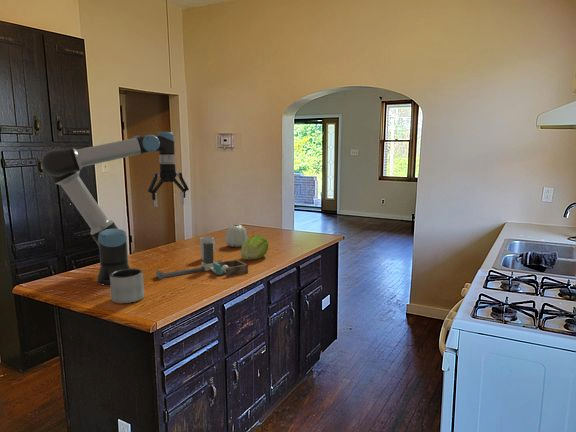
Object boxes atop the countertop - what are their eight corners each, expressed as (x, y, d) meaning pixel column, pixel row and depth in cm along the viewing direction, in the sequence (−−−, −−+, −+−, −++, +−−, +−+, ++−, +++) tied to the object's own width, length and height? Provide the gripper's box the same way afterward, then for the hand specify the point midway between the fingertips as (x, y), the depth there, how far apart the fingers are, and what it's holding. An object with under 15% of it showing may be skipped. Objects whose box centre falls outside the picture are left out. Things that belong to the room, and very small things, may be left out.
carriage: (213, 276, 198) (213, 248, 196) (201, 268, 211) (200, 242, 209) (225, 274, 202) (224, 247, 199) (212, 266, 214) (211, 241, 212)
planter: (104, 302, 165) (102, 275, 164) (126, 292, 177) (125, 267, 175) (129, 306, 161) (127, 278, 159) (151, 296, 172) (149, 270, 171)
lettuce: (228, 251, 223) (246, 240, 217) (246, 238, 243) (264, 228, 237) (241, 272, 224) (260, 261, 218) (258, 257, 243) (276, 247, 237)
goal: (227, 276, 198) (227, 268, 198) (216, 270, 209) (216, 262, 208) (248, 272, 205) (247, 264, 204) (236, 266, 215) (236, 259, 214)
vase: (244, 243, 269) (244, 222, 267) (249, 247, 256) (249, 226, 254) (223, 244, 265) (223, 223, 263) (227, 249, 252) (227, 227, 250)
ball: (223, 274, 202) (222, 267, 201) (220, 272, 205) (218, 265, 204) (231, 272, 204) (229, 264, 203) (227, 270, 207) (226, 263, 206)
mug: (207, 261, 226) (206, 239, 224) (198, 259, 230) (197, 238, 228) (220, 257, 234) (219, 236, 232) (211, 255, 238) (210, 235, 236)
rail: (159, 279, 194) (159, 273, 194) (156, 276, 198) (155, 270, 198) (224, 268, 213) (224, 262, 212) (220, 266, 217) (220, 260, 216)
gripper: (144, 164, 199) (146, 208, 202) (194, 163, 213) (195, 204, 216) (139, 163, 205) (142, 206, 208) (188, 162, 219) (190, 202, 222)
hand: (169, 205), depth 212 cm, fingers open, 13 cm apart
